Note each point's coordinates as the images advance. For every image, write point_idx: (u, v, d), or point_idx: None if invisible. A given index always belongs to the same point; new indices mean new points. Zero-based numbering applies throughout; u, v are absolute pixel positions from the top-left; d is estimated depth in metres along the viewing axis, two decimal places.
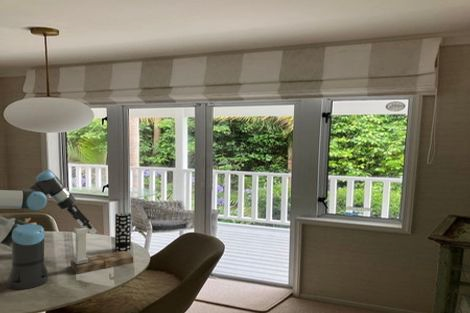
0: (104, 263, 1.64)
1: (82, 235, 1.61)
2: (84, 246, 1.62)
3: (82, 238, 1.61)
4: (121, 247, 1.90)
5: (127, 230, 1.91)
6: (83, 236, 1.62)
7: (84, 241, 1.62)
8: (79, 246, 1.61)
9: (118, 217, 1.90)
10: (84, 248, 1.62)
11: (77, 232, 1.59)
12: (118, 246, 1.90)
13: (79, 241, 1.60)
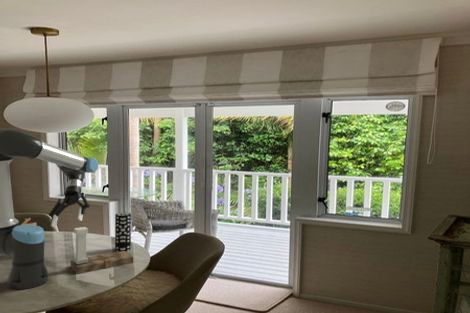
0: (104, 263, 1.64)
1: (82, 235, 1.61)
2: (84, 246, 1.62)
3: (82, 238, 1.61)
4: (121, 247, 1.90)
5: (127, 230, 1.91)
6: (83, 236, 1.62)
7: (84, 241, 1.62)
8: (79, 246, 1.61)
9: (118, 217, 1.90)
10: (84, 248, 1.62)
11: (77, 232, 1.59)
12: (118, 246, 1.90)
13: (79, 241, 1.61)
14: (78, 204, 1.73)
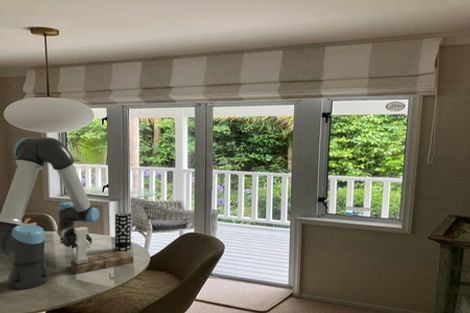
0: (104, 263, 1.64)
1: (83, 235, 1.61)
2: (84, 246, 1.62)
3: (82, 238, 1.61)
4: (121, 247, 1.90)
5: (127, 230, 1.91)
6: (84, 236, 1.62)
7: (84, 241, 1.62)
8: None
9: (118, 217, 1.90)
10: (84, 248, 1.62)
11: (77, 232, 1.59)
12: (118, 246, 1.90)
13: (79, 241, 1.61)
14: None
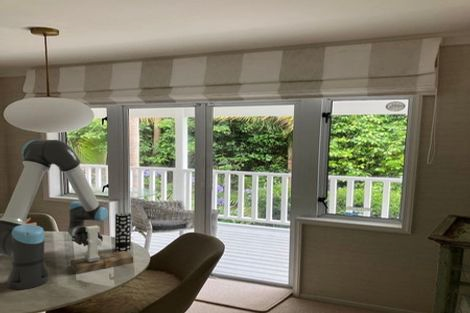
0: (104, 263, 1.64)
1: (94, 234, 1.65)
2: (96, 244, 1.65)
3: (94, 236, 1.65)
4: (121, 247, 1.90)
5: (127, 230, 1.91)
6: (95, 234, 1.65)
7: (96, 239, 1.65)
8: None
9: (118, 217, 1.90)
10: (96, 246, 1.65)
11: (89, 230, 1.63)
12: (118, 246, 1.90)
13: (91, 239, 1.64)
14: None
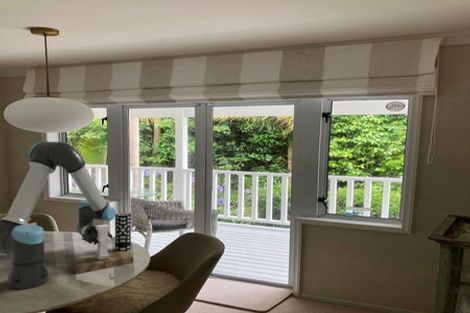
0: (104, 263, 1.64)
1: (104, 232, 1.68)
2: (106, 243, 1.68)
3: (104, 235, 1.68)
4: (121, 247, 1.90)
5: (127, 230, 1.91)
6: (105, 233, 1.68)
7: (106, 238, 1.68)
8: None
9: (118, 217, 1.90)
10: (106, 244, 1.68)
11: (99, 229, 1.66)
12: (118, 246, 1.90)
13: (101, 238, 1.67)
14: None
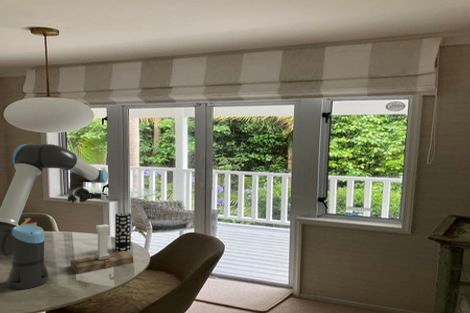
0: (104, 263, 1.64)
1: (104, 232, 1.68)
2: (106, 243, 1.68)
3: (104, 235, 1.68)
4: (121, 247, 1.90)
5: (127, 230, 1.91)
6: (105, 233, 1.68)
7: (106, 238, 1.68)
8: (101, 243, 1.67)
9: (118, 217, 1.90)
10: (106, 244, 1.68)
11: (100, 229, 1.66)
12: (118, 246, 1.90)
13: (101, 238, 1.67)
14: (95, 196, 1.92)
